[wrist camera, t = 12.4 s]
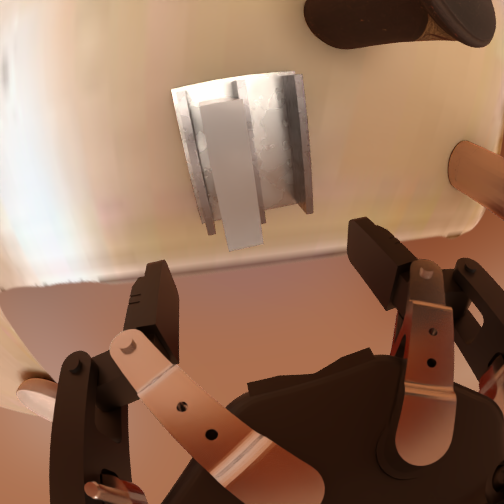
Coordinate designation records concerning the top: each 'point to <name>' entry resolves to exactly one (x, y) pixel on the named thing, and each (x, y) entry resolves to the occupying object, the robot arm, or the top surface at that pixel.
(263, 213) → the dish rack
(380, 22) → the container
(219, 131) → the dish slab
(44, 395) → the serving bowl
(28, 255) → the top surface
